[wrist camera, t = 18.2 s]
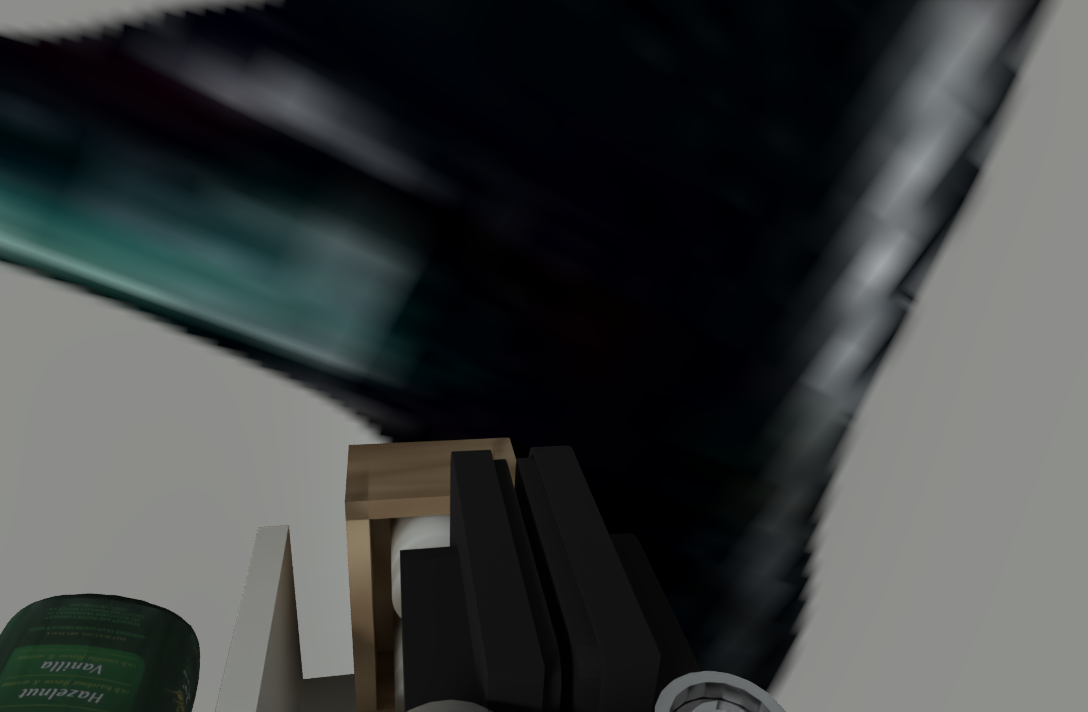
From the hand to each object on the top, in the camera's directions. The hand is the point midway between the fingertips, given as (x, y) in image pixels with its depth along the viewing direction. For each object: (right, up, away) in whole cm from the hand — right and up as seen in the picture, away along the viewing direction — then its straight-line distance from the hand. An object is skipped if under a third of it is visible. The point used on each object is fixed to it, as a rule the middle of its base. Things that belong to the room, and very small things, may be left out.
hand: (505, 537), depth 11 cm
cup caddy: (-4, -6, +23) cm, 24 cm away
